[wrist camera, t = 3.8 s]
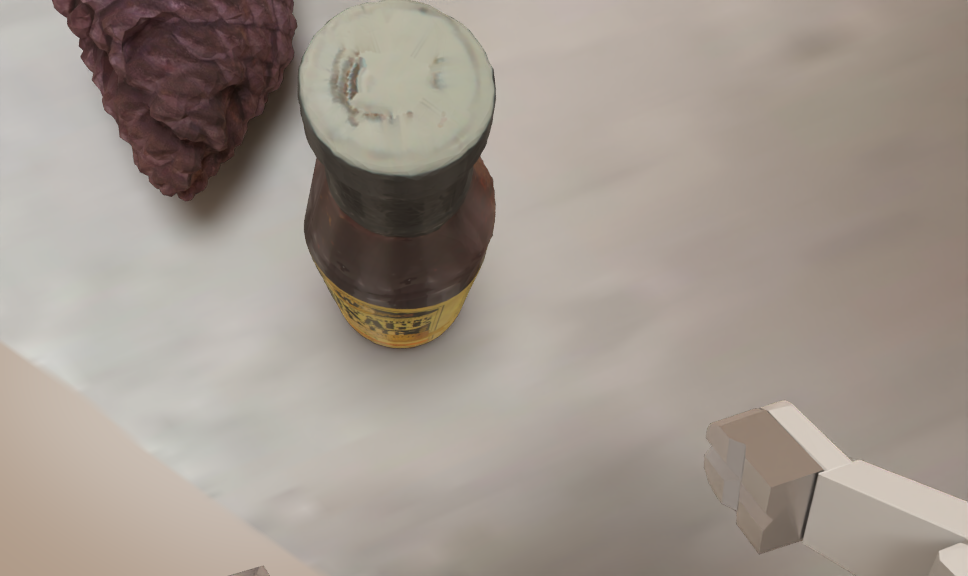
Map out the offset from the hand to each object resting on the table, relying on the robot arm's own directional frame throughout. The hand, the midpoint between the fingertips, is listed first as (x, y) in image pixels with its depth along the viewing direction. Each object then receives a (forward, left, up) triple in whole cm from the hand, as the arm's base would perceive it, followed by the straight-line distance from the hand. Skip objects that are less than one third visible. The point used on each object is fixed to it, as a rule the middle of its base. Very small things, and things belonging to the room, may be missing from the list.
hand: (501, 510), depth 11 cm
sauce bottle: (0, -9, -20) cm, 21 cm away
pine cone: (+7, -23, -20) cm, 31 cm away
